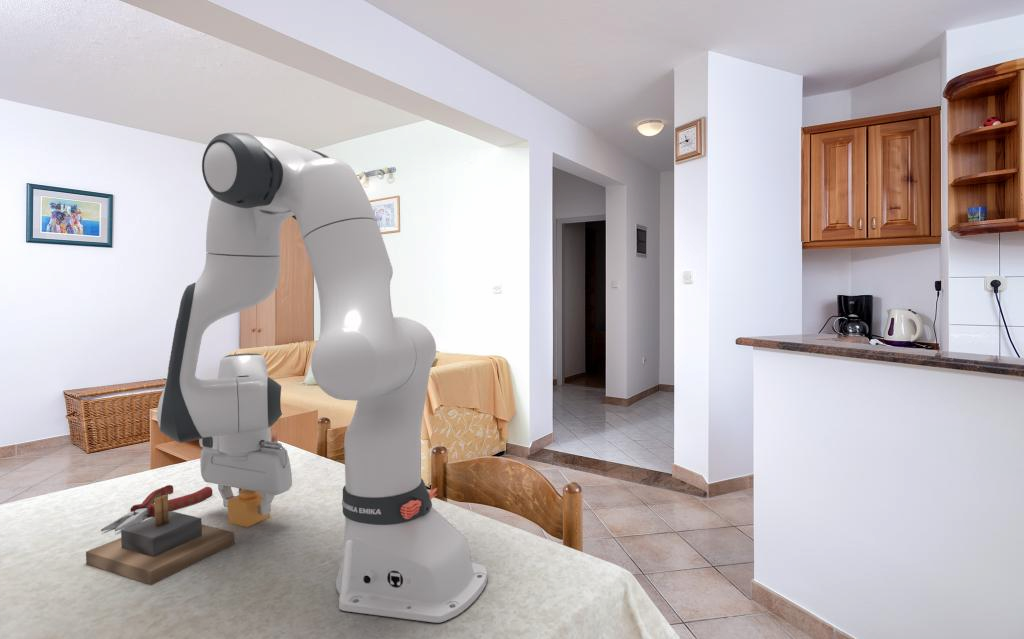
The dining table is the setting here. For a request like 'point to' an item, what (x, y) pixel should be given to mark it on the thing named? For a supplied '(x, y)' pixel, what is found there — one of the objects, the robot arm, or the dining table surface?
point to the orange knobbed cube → (245, 508)
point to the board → (159, 562)
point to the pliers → (148, 506)
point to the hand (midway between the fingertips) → (246, 510)
